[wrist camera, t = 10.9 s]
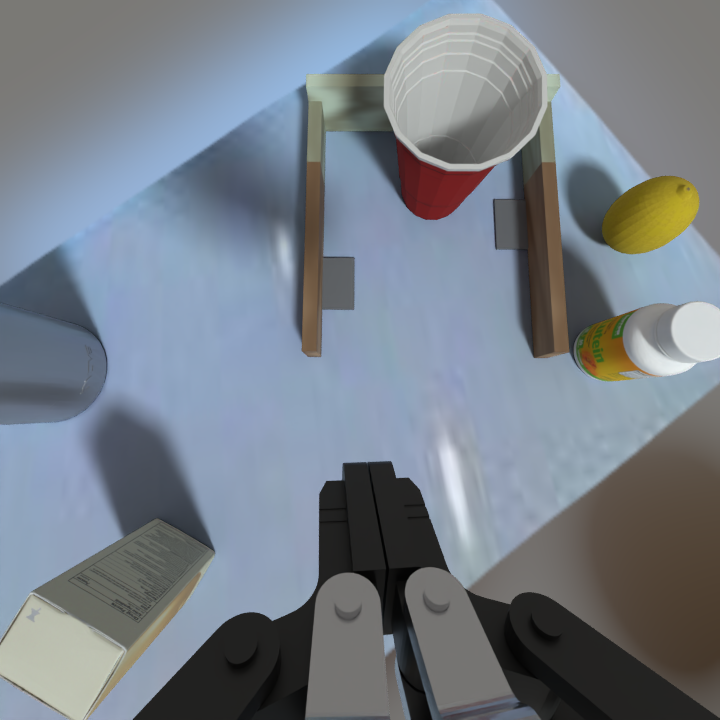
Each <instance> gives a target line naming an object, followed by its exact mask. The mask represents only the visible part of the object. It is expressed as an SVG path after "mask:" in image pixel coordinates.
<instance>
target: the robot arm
mask: <svg viewBox="0 0 720 720" xmlns="http://www.w3.org/2000/svg"><path fill="white" fill-rule="evenodd" d="M106 372H107V364H106V357H105V353H104V350H103V348H102V346H101V344H100V342H99V341H98V339H97V338H96V337H95V336H94V335H93V334H92V333H91V332H89V331H88V330H87V329H85V328H83V327H81V326H79V325H76V324H73V323H69V322H66V321H62V320H59V319H55V318H52V317H48V316H45V315H41V314H39V313H35V312H32V311H28V310H25V309H21V308H18V307H14V306H11V305H7V304H4V303H0V425H10V424H30V423H50V422H59V421H64V420H67V419H70V418H72V417H75V416H77V415H78V414H80V413H81V412H83V411H84V410H86V409H87V408H88V407H89V406H90V405H91V404H92V403H93V402H94V400H95V399H96V398H97V396H98V395H99V393H100V391H101V389H102V387H103V384H104V382H105V377H106ZM388 634H393V637H394V643H395V649H396V660H395V673H396V679H397V683H398V688H399V692H400V697H401V701H402V706H403V710H404V715H405V719H406V720H720V718H718V717H717V716H716V715H714V714H713V713H711V712H710V711H709V710H707V709H706V708H704V707H703V706H701V705H700V704H699V703H697V702H696V701H694V700H693V699H692V698H690V697H689V696H688V695H686V694H685V693H683V692H682V691H681V690H679V689H678V688H676V687H675V686H674V685H672V684H671V683H669V682H668V681H667V680H665V679H664V678H662V677H661V676H659V675H658V674H657V673H655V672H654V671H652V670H651V669H650V668H648V667H647V666H645V665H644V664H643V663H641V662H640V661H638V660H637V659H636V658H634V657H633V656H631V655H630V654H628V653H627V652H626V651H624V650H623V649H622V648H620V647H619V646H617V645H616V644H615V643H613V642H612V641H610V640H609V639H608V638H606V637H605V636H603V635H602V634H600V633H599V632H597V631H596V630H595V629H594V628H592V627H591V626H589V625H588V624H587V623H585V622H583V621H582V620H581V619H579V618H578V617H577V616H575V615H574V614H572V613H571V612H569V611H568V610H567V609H565V608H564V607H563V606H561V605H560V604H558V603H557V602H555V601H554V600H552V599H551V598H549V597H547V596H544V595H541V594H538V593H532V592H527V593H522V594H519V595H518V596H516V597H515V598H514V599H513V600H512V603H511V604H506V603H502V602H498V601H495V600H491V599H487V598H484V597H481V596H477V595H475V594H473V593H471V592H470V591H468V590H466V589H465V588H464V587H463V586H462V584H461V583H460V582H459V581H458V580H457V579H456V578H455V577H454V576H453V575H452V574H451V573H450V571H449V569H448V567H447V565H446V562H445V559H444V556H443V553H442V551H441V548H440V545H439V542H438V539H437V537H436V534H435V531H434V528H433V525H432V523H431V520H430V519H429V514H428V511H427V509H426V507H425V503H424V500H423V497H422V495H421V492H420V489H419V488H418V487H417V486H416V485H415V484H414V483H413V482H412V481H411V480H410V479H409V478H396V475H395V472H394V468H393V465H392V462H391V461H384V462H368V463H366V462H357V463H343V471H342V480H341V481H326V483H325V485H324V486H323V488H322V490H321V492H320V494H319V579H318V583H317V586H316V589H315V591H314V593H313V594H312V596H311V597H310V599H309V600H308V601H307V602H306V603H305V604H304V605H303V606H302V607H300V608H299V609H297V610H296V611H294V612H292V613H290V614H287V615H285V616H283V617H281V618H278V619H276V620H274V621H271V620H270V619H269V618H268V617H266V616H265V615H263V614H260V613H254V612H249V613H243V614H240V615H237V616H235V617H233V618H231V619H229V620H228V621H226V622H225V623H224V624H222V625H221V626H220V627H219V628H218V629H217V630H216V631H215V632H214V633H213V635H212V636H211V637H210V638H209V639H208V640H207V641H206V642H205V643H204V644H203V645H202V646H201V647H200V648H199V649H198V651H197V652H196V653H195V654H194V655H193V656H192V657H191V658H190V659H189V660H188V661H187V662H186V663H185V664H184V665H183V666H182V668H181V669H180V670H179V671H178V672H177V673H176V674H175V675H174V676H173V677H172V678H171V679H170V680H169V681H168V682H167V684H166V685H165V686H164V687H163V688H162V689H161V690H160V691H159V692H158V693H157V694H156V695H155V696H154V697H153V698H152V700H151V701H150V702H149V703H148V704H147V705H146V706H145V707H144V708H143V709H142V710H141V711H140V712H139V713H138V714H137V716H136V717H135V718H134V719H133V720H390V714H389V704H388V691H387V680H386V679H387V678H386V665H385V653H384V640H383V635H388Z"/></svg>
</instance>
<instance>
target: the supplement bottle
mask: <svg viewBox="0 0 720 720" xmlns="http://www.w3.org/2000/svg"><path fill="white" fill-rule="evenodd" d="M574 357H575V360H576V363H577V365H578V366H579V368H580V369H581V370H582V371H583V372H584V373H585V374H586V375H587V376H589V377H591V378H593V379H596V380H599V381H620V380H630V379H640V378H650V377H661V376H670V375H675V374H679V373H682V372H685V371H687V370H689V369H690V368H691V367H693V366H694V365H695V364H696V363H698V362H704V361H710V360H713V359H716V358H718V357H720V309H719V308H717V307H715V306H714V305H712V304H709V303H706V302H699V301H696V302H689V303H685V304H682V305H678V306H676V305H672V304H664V303H660V304H653V305H649V306H645V307H642V308H639V309H636V310H634V311H631V312H628V313H625V314H622V315H619V316H616V317H613V318H611V319H608V320H605V321H602V322H599V323H596V324H593V325H591V326H589V327H587V328H585V329H584V330H583V331H582V332H581V333H580V334H579V335H578V337H577V338H576V341H575V344H574Z"/></svg>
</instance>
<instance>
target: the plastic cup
mask: <svg viewBox="0 0 720 720" xmlns="http://www.w3.org/2000/svg"><path fill="white" fill-rule="evenodd" d="M546 108H547V74H546V71H545V69H544V67H543V65H542V62H541V60H540V58H539V56H538V54H537V51H536V49H535V47H534V46H533V45H532V44H531V43H530V42H529V41H528V40H527V39H526V38H525V37H523V36H522V35H521V34H520V33H519V32H518V31H517V30H516V29H515V28H514V27H513V26H512V25H510V24H507V23H504V22H502V21H499V20H497V19H494V18H491V17H489V16H486V15H483V14H448V15H445V16H443V17H440V18H438V19H435V20H433V21H430V22H427V23H425V24H422V25H420V26H419V27H418V28H417V29H415V30H414V31H413V32H412V33H411V34H410V35H409V36H408V37H407V38H406V39H405V40H404V41H403V42H402V43H401V44H400V45H399V46H397V48H396V50H395V52H394V54H393V57H392V59H391V61H390V63H389V66H388V68H387V70H386V72H385V75H384V109H385V111H386V114H387V116H388V119H389V121H390V123H391V126H392V128H393V130H394V134H395V137H396V143H397V154H398V166H399V177H400V179H401V191H402V196H403V199H404V201H405V204H406V206H407V208H408V209H409V210H410V211H411V212H412V213H413V214H414V215H416V216H418V217H421V218H423V219H426V220H438V219H441V218H443V217H446V216H448V215H449V214H451V213H452V212H453V211H454V210H455V209H456V208H457V207H458V206H459V205H460V204H461V203H462V202H463V201H464V199H465V198H466V197H467V196H468V195H469V194H470V193H471V192H472V191H473V190H474V189H475V188H476V187H477V186H478V185H479V184H480V182H481V181H482V180H483V179H484V178H485V177H486V176H487V174H488V173H489V172H490V171H491V170H492V169H493V168H494V166H496V165H497V164H499V163H502V162H504V161H507V160H509V159H510V158H512V157H513V156H514V155H515V154H516V153H517V152H518V151H519V150H520V149H521V148H522V147H523V146H524V145H525V144H526V143H527V142H528V141H530V140H531V139H532V138H533V137H534V136H535V134H536V132H537V130H538V127H539V125H540V123H541V120H542V118H543V115H544V113H545V111H546Z"/></svg>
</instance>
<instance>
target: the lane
mask: <svg viewBox="0 0 720 720" xmlns="http://www.w3.org/2000/svg"><path fill="white" fill-rule="evenodd" d="M384 75H385V74H307V75H306V89H307V94H308V100H309V108H308V144H307V180H306V216H305V252H304V288H303V325H302V352H304V353H305V354H306V355H307V356H308V357H321V340H322V279H323V242H324V192H325V143H326V131H394V130H393V128H392V126H391V123H390V121H389V119H388V116H387V114H386V111H385V109H384ZM559 88H560V76H559V74H547V108H546V111H545V113H544V115H543V118H542V120H541V123H540V125H539V127H538V130H537V132H536V134H535V136H534V137H533V138H532V139H531V140H530V141H528V142H527V143H526V144H525V145H524V146H523V147H522V148H521V149H522V166H523V182H524V199H525V200H526V216H527V232H528V266H529V283H530V300H531V317H532V333H533V350H534V358H549V357H553V356H557V355H560V354H564V353H568V352H569V341H568V327H567V313H566V300H565V286H564V272H563V259H562V245H561V231H560V218H559V204H558V190H557V176H556V163H555V149H554V135H553V122H552V108H551V101H552V99H553V98H554V96H555V94H556V93H557V91H558V89H559Z"/></svg>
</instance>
